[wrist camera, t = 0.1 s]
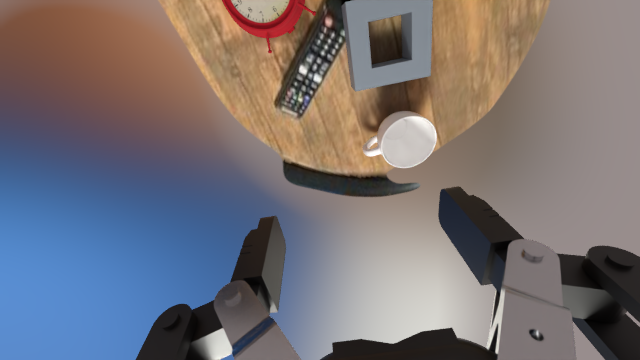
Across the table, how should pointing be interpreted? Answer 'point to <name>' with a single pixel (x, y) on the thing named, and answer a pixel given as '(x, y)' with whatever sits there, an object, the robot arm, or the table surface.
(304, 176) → the table surface
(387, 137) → the cup
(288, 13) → the alarm clock
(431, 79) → the table surface
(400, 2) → the slate collar
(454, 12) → the table surface
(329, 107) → the table surface
